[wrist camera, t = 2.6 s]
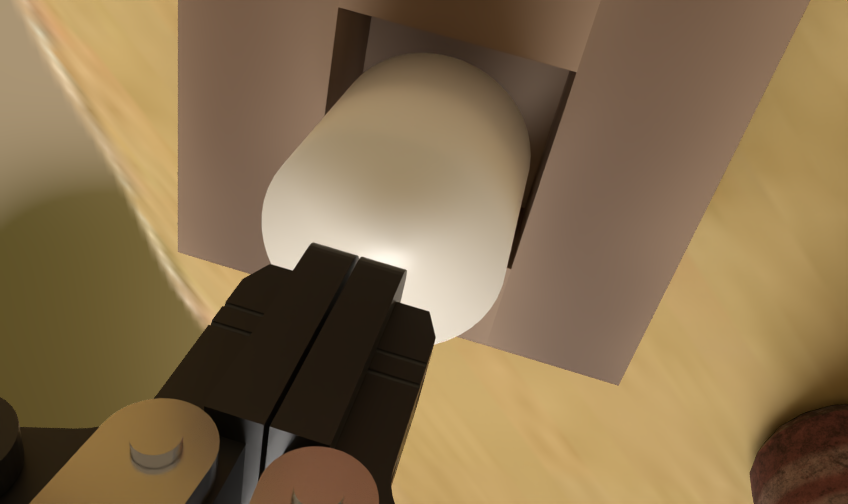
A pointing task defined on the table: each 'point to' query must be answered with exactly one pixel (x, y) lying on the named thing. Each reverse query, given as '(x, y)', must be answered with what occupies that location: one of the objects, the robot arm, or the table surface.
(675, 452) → the table surface
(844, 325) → the table surface
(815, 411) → the can
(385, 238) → the offwhite button
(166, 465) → the robot arm
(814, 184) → the table surface
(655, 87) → the button panel
